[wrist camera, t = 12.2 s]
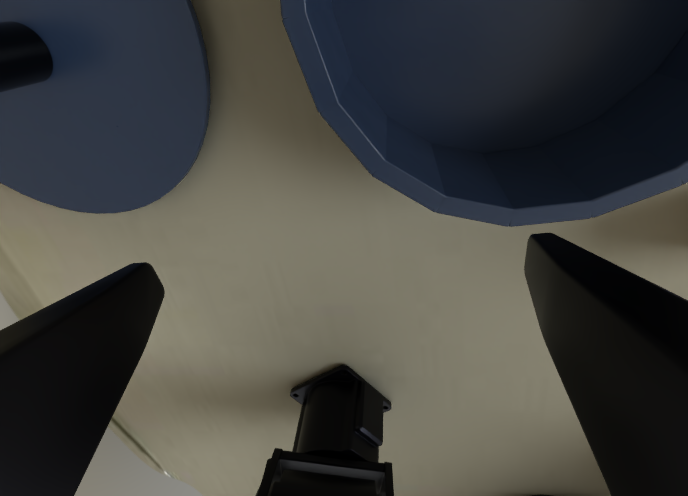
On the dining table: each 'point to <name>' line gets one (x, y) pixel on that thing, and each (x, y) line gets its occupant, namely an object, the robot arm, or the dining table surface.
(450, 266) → the dining table surface
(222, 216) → the dining table surface
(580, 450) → the dining table surface
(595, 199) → the pot
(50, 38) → the lid
